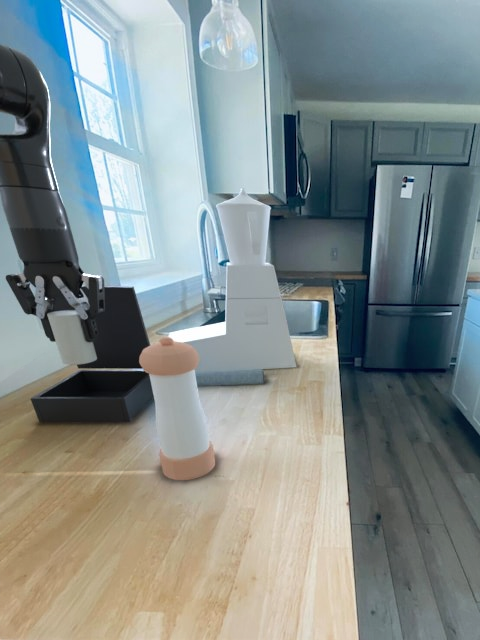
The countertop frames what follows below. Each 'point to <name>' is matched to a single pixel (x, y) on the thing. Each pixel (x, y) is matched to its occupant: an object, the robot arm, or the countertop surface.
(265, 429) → the countertop surface
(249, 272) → the blender
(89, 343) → the container
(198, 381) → the grey folded cloth
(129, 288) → the lid
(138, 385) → the black hinged box
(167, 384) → the salt shaker
